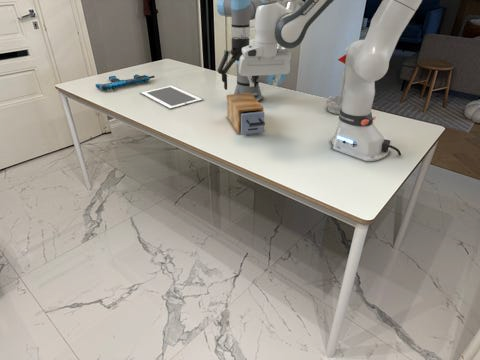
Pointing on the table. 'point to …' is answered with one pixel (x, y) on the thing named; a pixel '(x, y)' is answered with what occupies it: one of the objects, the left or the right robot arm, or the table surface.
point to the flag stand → (336, 102)
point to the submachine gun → (123, 82)
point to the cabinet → (240, 107)
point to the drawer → (252, 122)
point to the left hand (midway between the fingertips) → (240, 87)
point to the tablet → (171, 96)
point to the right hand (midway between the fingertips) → (263, 85)
